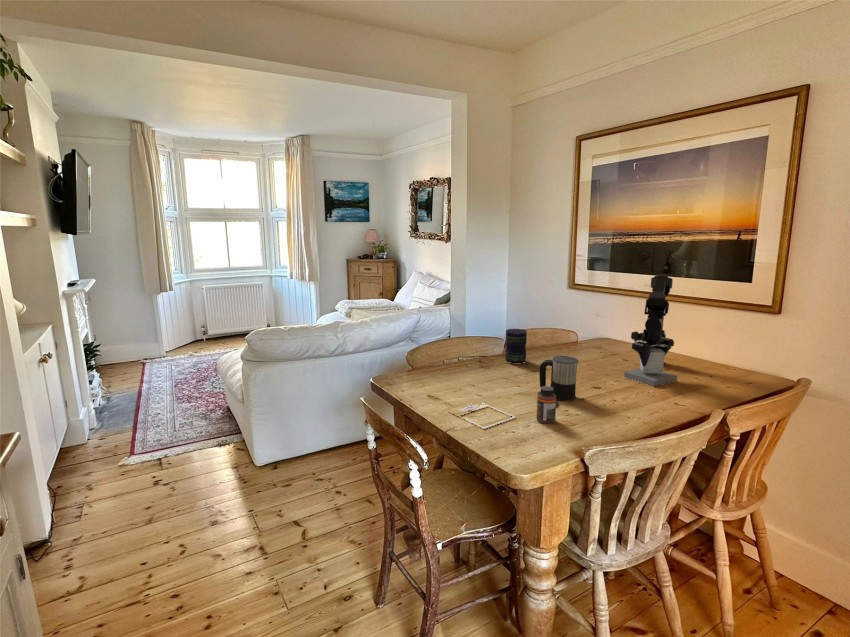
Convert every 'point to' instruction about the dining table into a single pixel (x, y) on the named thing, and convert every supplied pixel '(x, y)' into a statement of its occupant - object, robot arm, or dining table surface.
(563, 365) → the milk frother
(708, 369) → the dining table surface
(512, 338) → the storage jar
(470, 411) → the photo frame
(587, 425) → the dining table surface
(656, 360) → the medicine box
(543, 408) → the supplement bottle
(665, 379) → the riser block
